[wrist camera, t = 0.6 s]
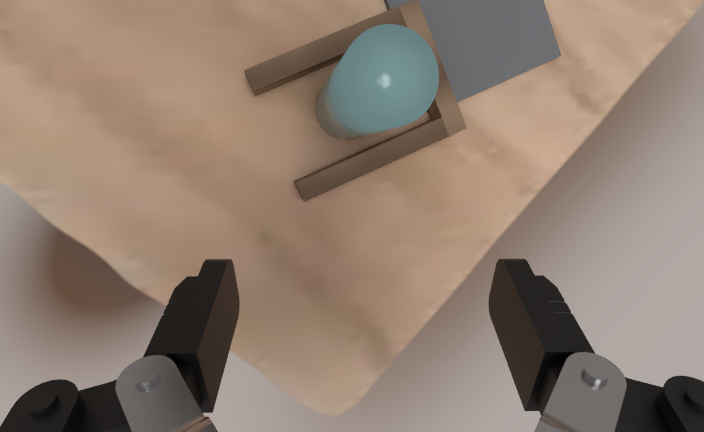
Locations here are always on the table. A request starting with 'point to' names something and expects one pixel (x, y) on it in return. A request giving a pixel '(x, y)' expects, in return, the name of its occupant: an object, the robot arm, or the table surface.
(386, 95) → the canister
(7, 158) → the table surface
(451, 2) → the felt pad
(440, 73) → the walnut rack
